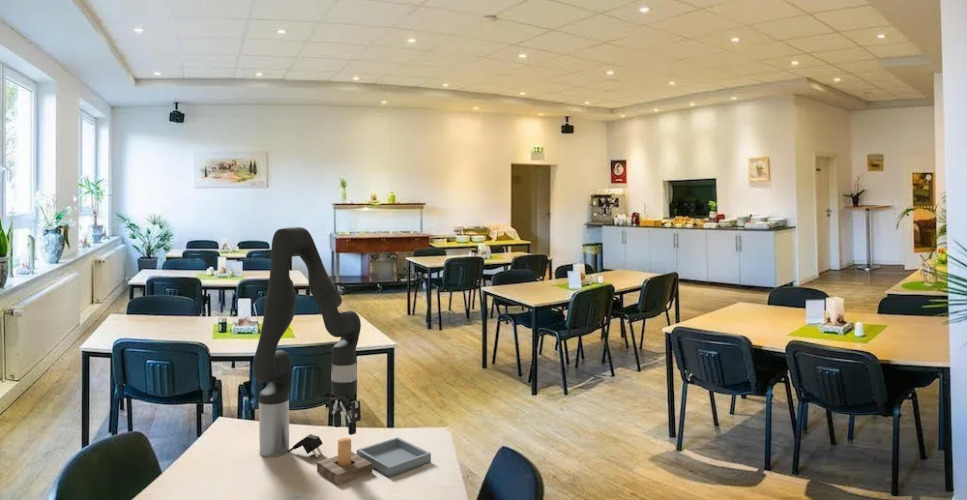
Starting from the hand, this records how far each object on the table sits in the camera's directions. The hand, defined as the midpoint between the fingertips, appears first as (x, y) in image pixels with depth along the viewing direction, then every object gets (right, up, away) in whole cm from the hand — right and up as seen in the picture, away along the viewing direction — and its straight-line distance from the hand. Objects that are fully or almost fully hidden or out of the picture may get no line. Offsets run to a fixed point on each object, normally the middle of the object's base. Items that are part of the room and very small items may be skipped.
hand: (344, 430), depth 184 cm
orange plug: (0, -13, +1) cm, 13 cm away
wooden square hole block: (0, -13, +1) cm, 13 cm away
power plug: (-16, -12, +14) cm, 25 cm away
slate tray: (+13, -13, +10) cm, 21 cm away
